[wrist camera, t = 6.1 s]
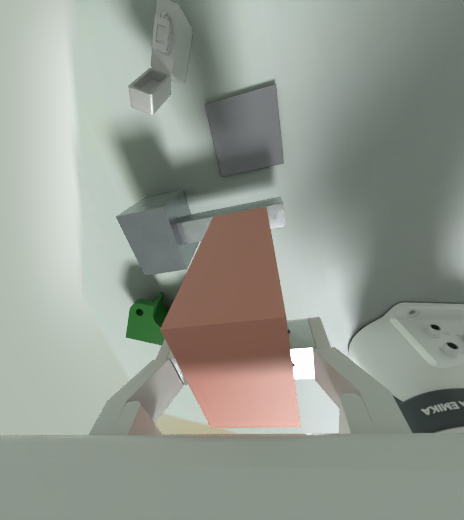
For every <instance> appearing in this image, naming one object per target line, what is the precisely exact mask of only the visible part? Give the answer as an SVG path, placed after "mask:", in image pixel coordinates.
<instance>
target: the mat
mask: <svg viewBox="0 0 464 520" xmlns="http://www.w3.org/2000/svg"><path fill="white" fill-rule="evenodd" d="M205 107H206V111H207V116H208V120H209V124H210V129H211V133H212V137H213V142H214V146H215V151H216V155H217V159H218V164H219V168H220V172H221V177H224V176H229V175H233V174H238V173H242V172H247V171H251V170H256V169H260V168H265V167H269V166H274V165H278V164H283V163H284V161H283V151H282V141H281V130H280V120H279V110H278V100H277V89H276V84H275V85H272V86H268V87H264V88H261V89H257V90H254V91H250V92H247V93H243V94H240V95H236V96H232V97H229V98H225V99H222V100H218V101H215V102H211V103H208V104H205Z"/></svg>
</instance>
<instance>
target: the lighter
mask: <svg viewBox="0 0 464 520" xmlns="http://www.w3.org/2000/svg"><path fill="white" fill-rule="evenodd" d="M192 36H193V29H192V27H191V25H190V24H189V22H188V20H187V18H186V16H185V15H184V13H183V11H182V9H181V8H180V6H179V4H178V3H175V2H173V1H170V0H157V1H156V12H155V16H154V26H153V37H152V57H151V66H152V68H149V69H148V70H147V71H146V72H144V73H143V74H142V75H141V76H140V77H138V78H137V79H136V80H135V81H134V82H132V83H131V84H130V85H129V94H130V101H131V107H132V108H134V109H137V110H140V111H143V112H146V113H149V114H154V113H155V112H156V111H157V110H158V109H159V108H160V106H161V105H162V104H163V103H164V102H165V101H166V99H167V98H168V97H169V96H170V95H171V80H173V81H176V82H179V83H181V84H184V83H185V81H186V75H187V68H188V62H189V55H190V49H191V42H192Z"/></svg>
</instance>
